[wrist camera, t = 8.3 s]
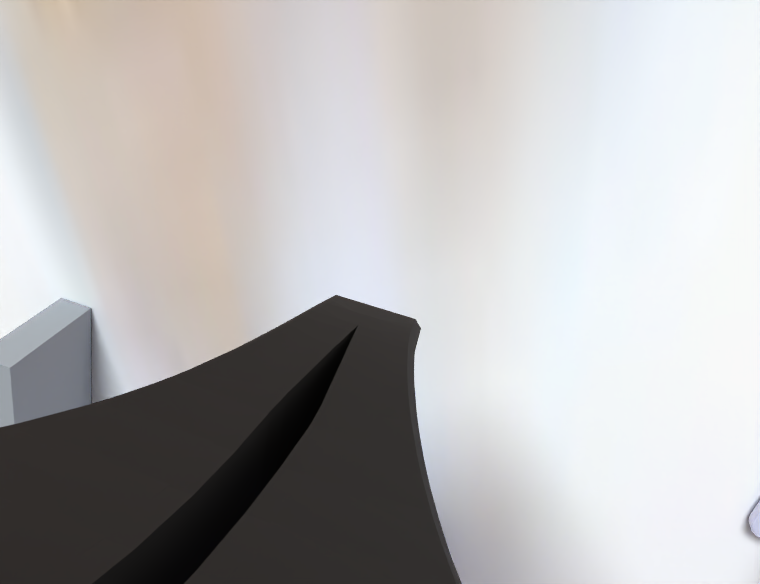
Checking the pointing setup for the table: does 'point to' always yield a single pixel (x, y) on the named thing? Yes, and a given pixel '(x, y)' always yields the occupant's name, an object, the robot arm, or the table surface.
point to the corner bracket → (46, 364)
